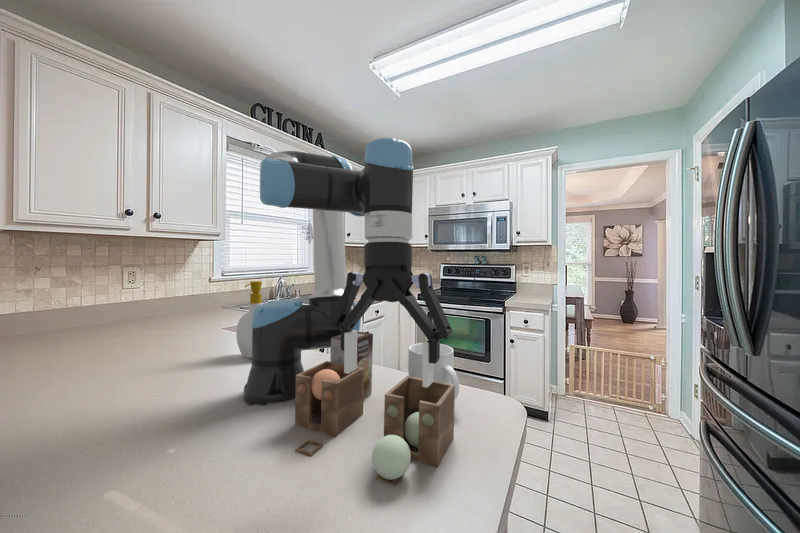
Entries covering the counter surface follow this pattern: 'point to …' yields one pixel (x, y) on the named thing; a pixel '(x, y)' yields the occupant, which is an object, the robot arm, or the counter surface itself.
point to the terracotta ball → (317, 381)
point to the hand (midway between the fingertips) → (387, 377)
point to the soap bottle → (248, 321)
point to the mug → (441, 368)
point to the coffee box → (362, 357)
